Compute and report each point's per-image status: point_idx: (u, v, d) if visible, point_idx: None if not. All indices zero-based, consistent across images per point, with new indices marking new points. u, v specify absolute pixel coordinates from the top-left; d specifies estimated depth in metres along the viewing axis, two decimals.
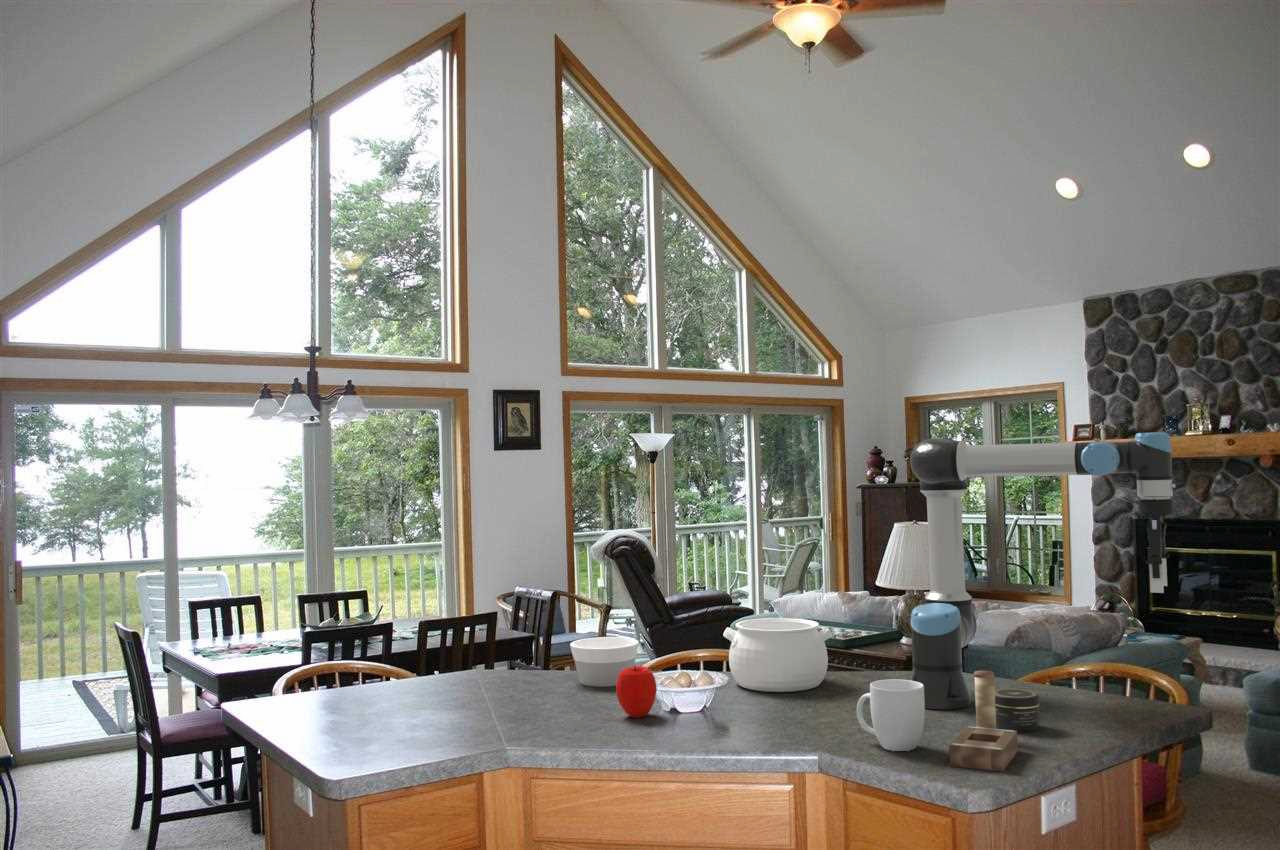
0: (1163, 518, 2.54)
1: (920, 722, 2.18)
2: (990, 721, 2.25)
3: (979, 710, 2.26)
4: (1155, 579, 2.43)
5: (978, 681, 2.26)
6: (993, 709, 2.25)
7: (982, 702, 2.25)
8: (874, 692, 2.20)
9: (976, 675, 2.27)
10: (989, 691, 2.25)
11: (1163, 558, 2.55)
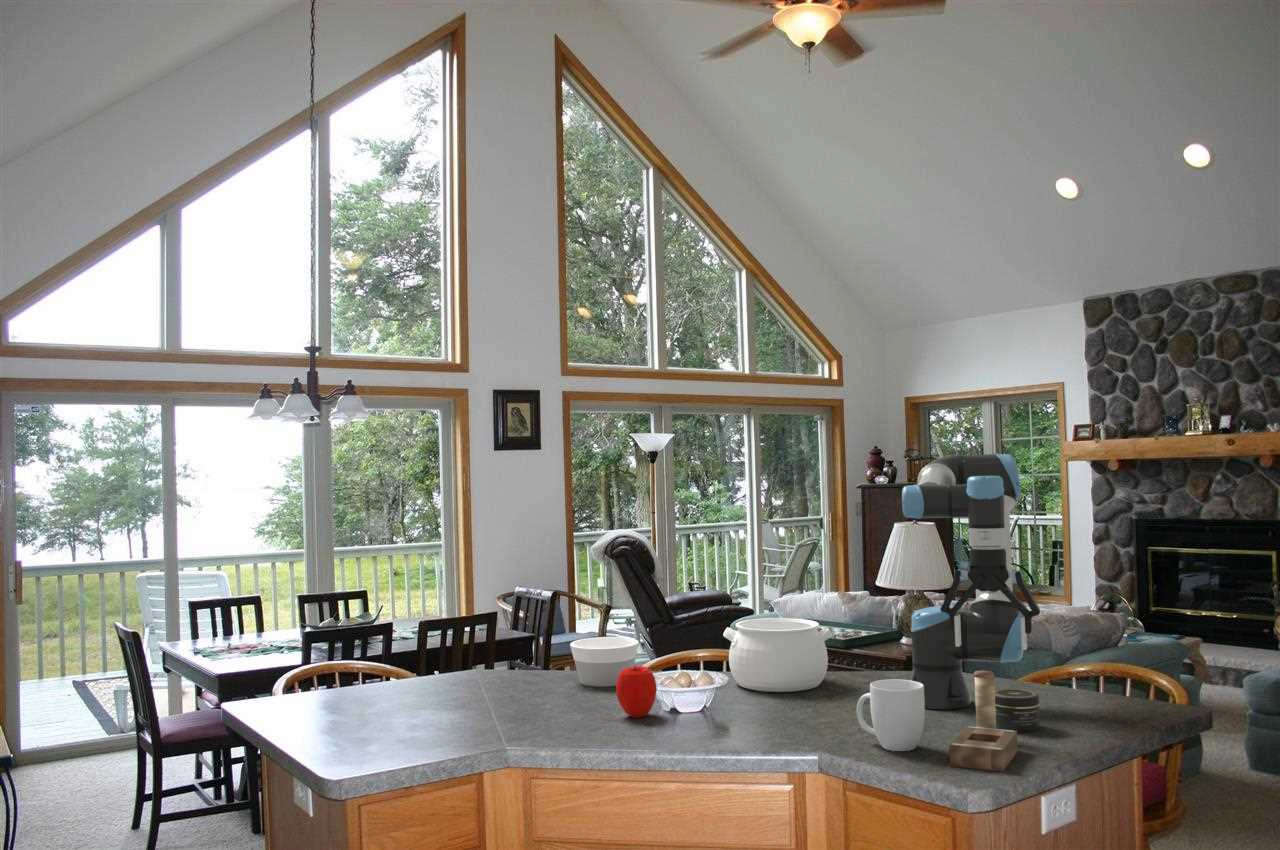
0: (1015, 572, 2.25)
1: (920, 722, 2.18)
2: (990, 721, 2.25)
3: (979, 710, 2.26)
4: None
5: (978, 681, 2.26)
6: (993, 709, 2.25)
7: (982, 702, 2.25)
8: (874, 692, 2.20)
9: (976, 675, 2.27)
10: (989, 691, 2.25)
11: (1023, 618, 2.25)
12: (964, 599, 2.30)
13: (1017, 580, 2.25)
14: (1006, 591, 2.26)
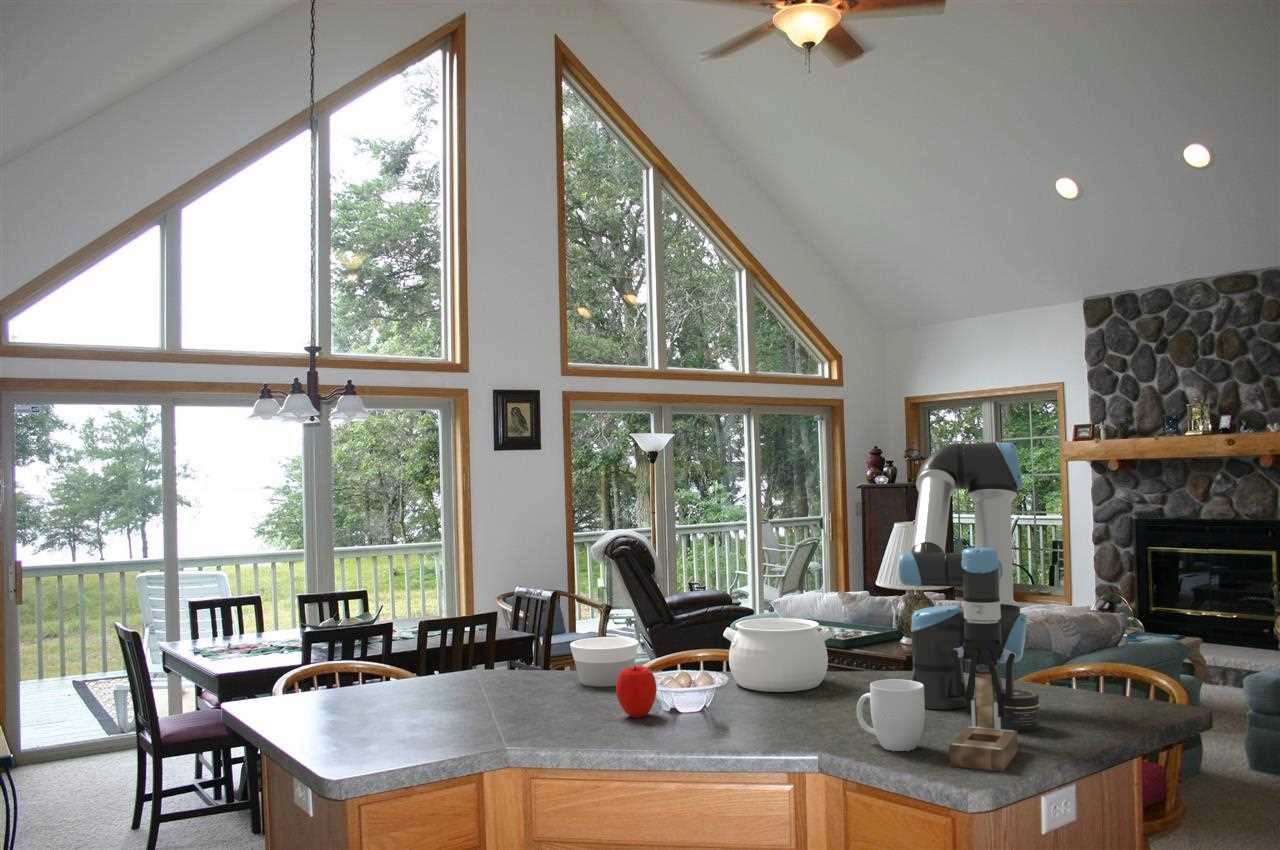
0: (1010, 653, 2.24)
1: (920, 722, 2.18)
2: (991, 721, 2.25)
3: (979, 710, 2.26)
4: None
5: (979, 681, 2.26)
6: (993, 709, 2.25)
7: (982, 702, 2.25)
8: (874, 692, 2.20)
9: (976, 675, 2.27)
10: (989, 691, 2.25)
11: (996, 702, 2.25)
12: (972, 678, 2.27)
13: (1008, 661, 2.24)
14: (993, 669, 2.25)
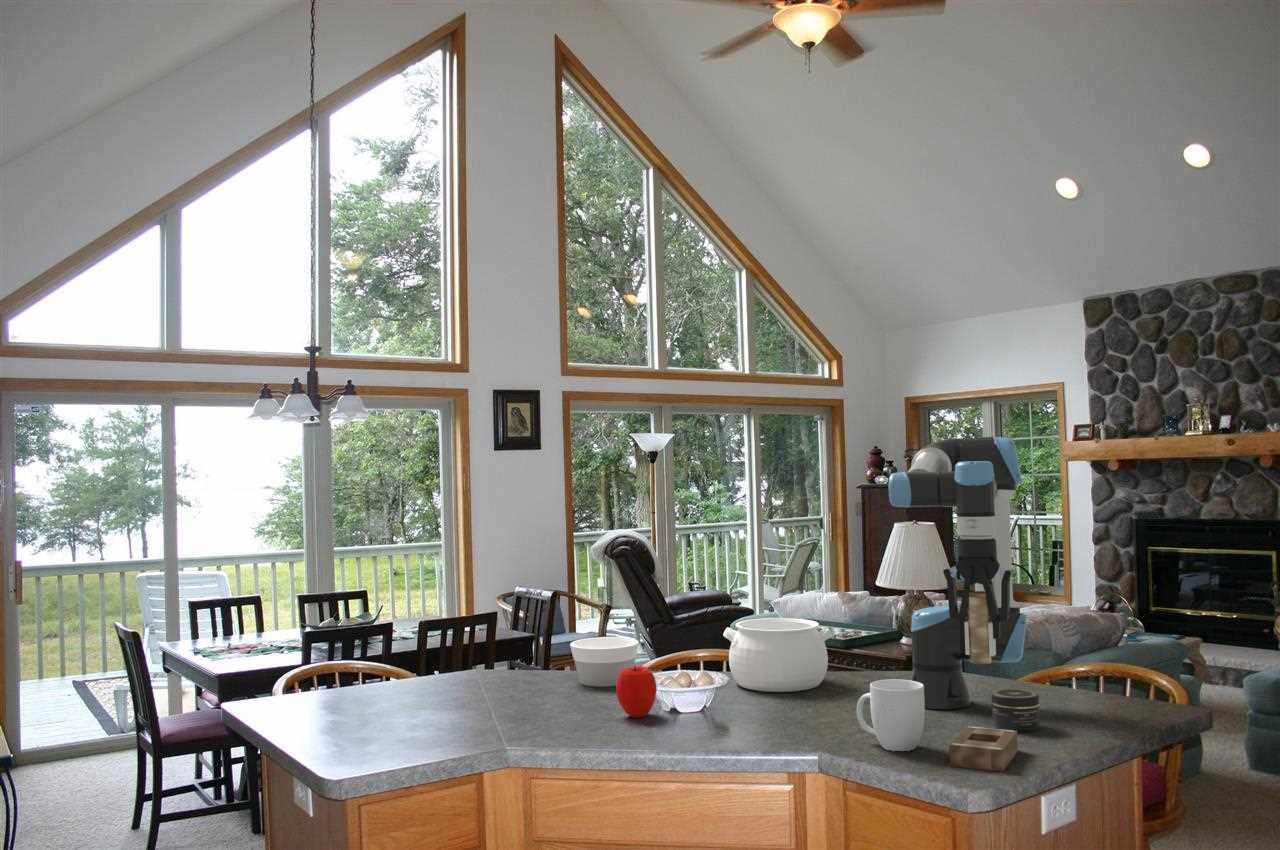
0: (1006, 571, 2.11)
1: (920, 722, 2.18)
2: (985, 643, 2.12)
3: (972, 631, 2.13)
4: None
5: (972, 600, 2.13)
6: (988, 630, 2.13)
7: (976, 623, 2.13)
8: (874, 692, 2.20)
9: (970, 594, 2.14)
10: (984, 611, 2.12)
11: (991, 622, 2.12)
12: (966, 599, 2.15)
13: (1003, 578, 2.11)
14: (988, 588, 2.12)
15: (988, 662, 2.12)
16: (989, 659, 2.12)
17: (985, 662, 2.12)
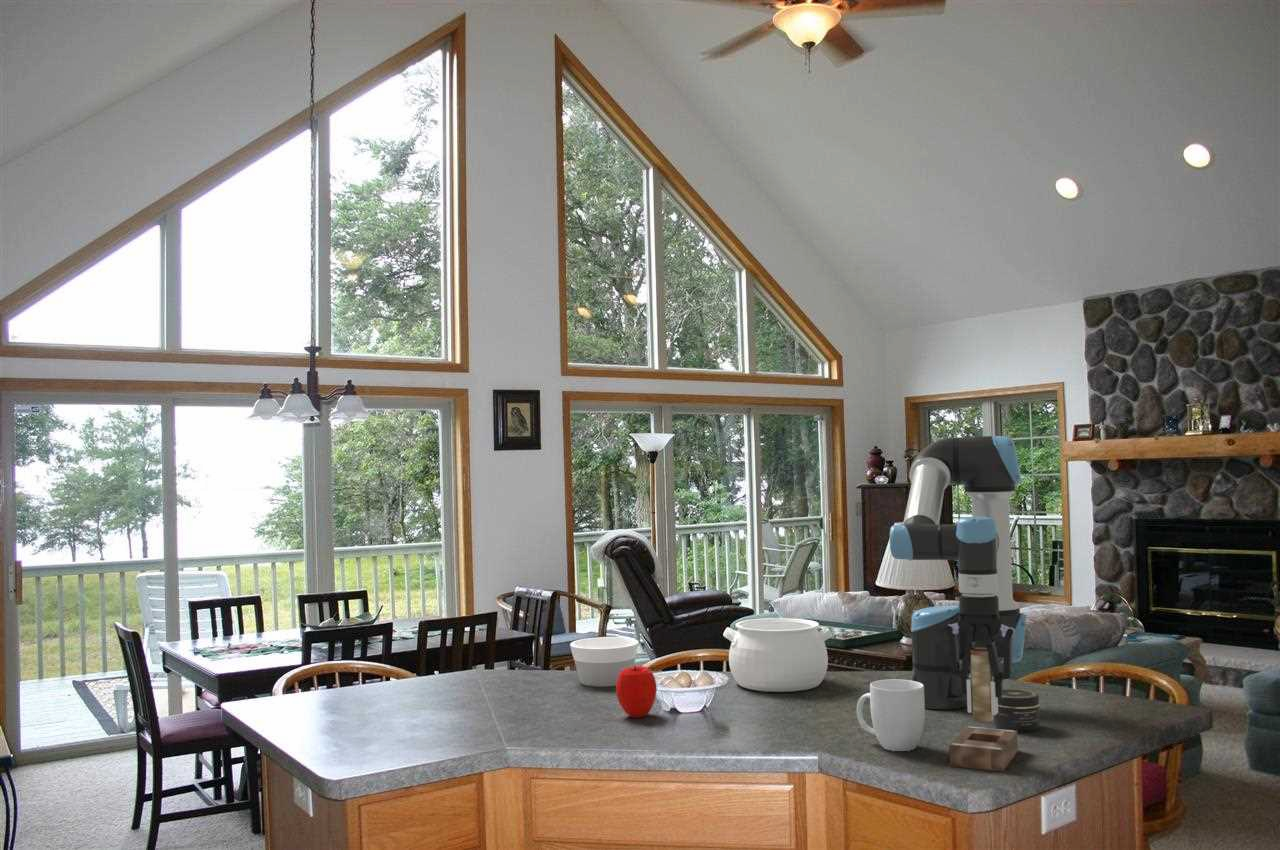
0: (1008, 629, 2.10)
1: (920, 722, 2.18)
2: (987, 701, 2.11)
3: (975, 689, 2.12)
4: None
5: (974, 658, 2.12)
6: (990, 688, 2.11)
7: (978, 681, 2.11)
8: (874, 692, 2.20)
9: (972, 652, 2.12)
10: (986, 669, 2.11)
11: (993, 681, 2.11)
12: (968, 656, 2.13)
13: (1006, 637, 2.10)
14: (990, 646, 2.11)
15: (990, 720, 2.11)
16: (991, 717, 2.11)
17: (987, 721, 2.11)
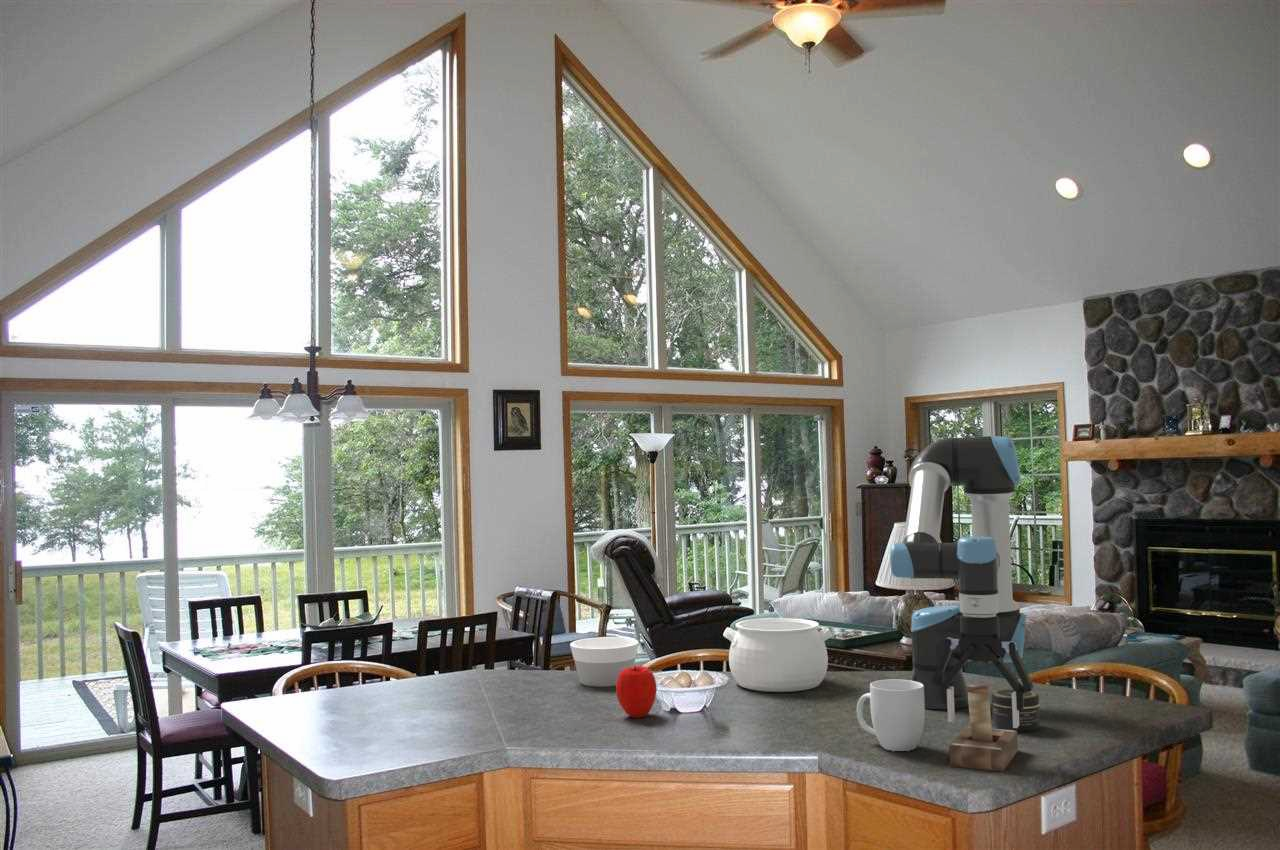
0: (1009, 643, 2.09)
1: (920, 722, 2.18)
2: (987, 739, 2.11)
3: (974, 727, 2.12)
4: None
5: (972, 696, 2.12)
6: (989, 725, 2.11)
7: (976, 719, 2.11)
8: (874, 692, 2.20)
9: (969, 690, 2.13)
10: (984, 706, 2.11)
11: (1014, 694, 2.09)
12: (956, 670, 2.14)
13: (1010, 652, 2.09)
14: (998, 663, 2.10)
15: None
16: None
17: None
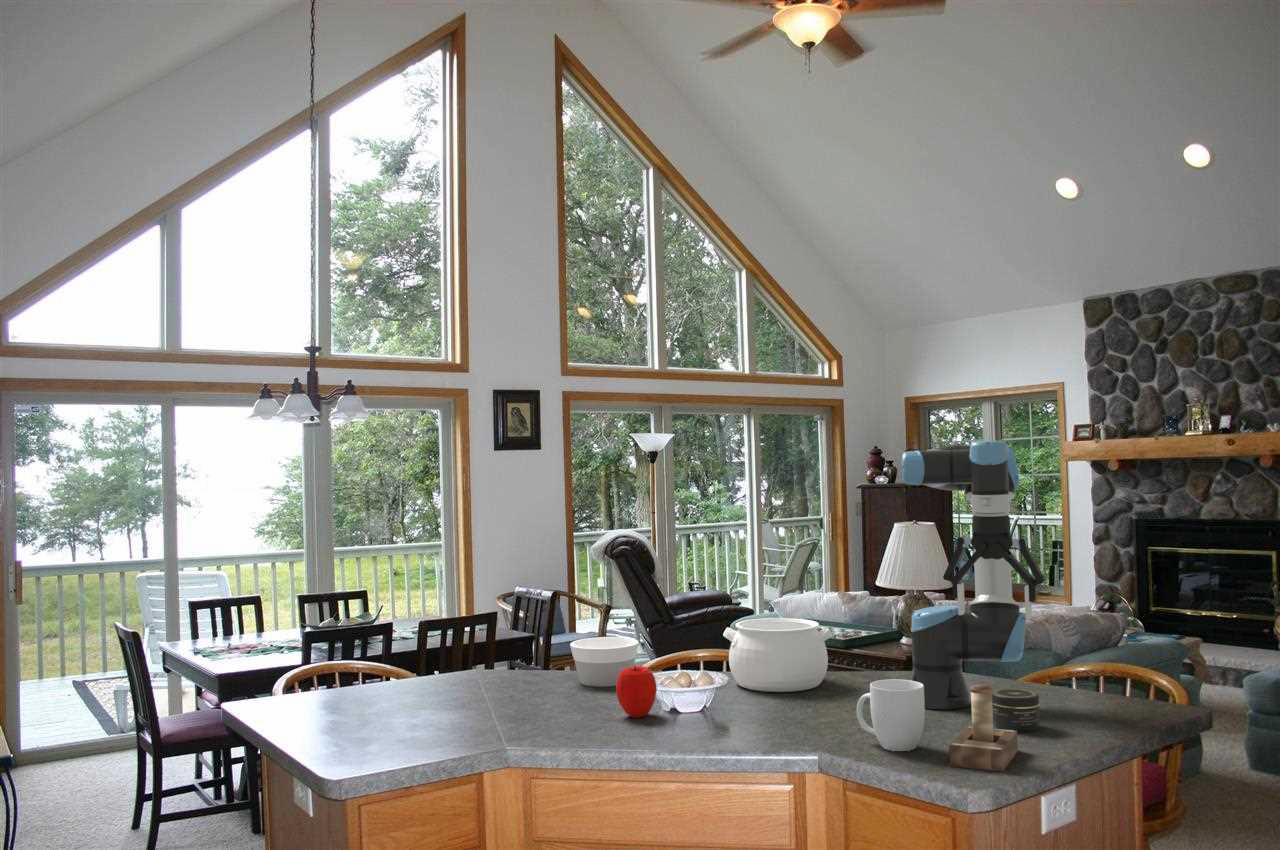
0: (1019, 539, 2.19)
1: (920, 722, 2.18)
2: (988, 739, 2.11)
3: (975, 727, 2.12)
4: None
5: (975, 696, 2.12)
6: (991, 726, 2.11)
7: (978, 719, 2.11)
8: (874, 692, 2.20)
9: (973, 690, 2.12)
10: (987, 707, 2.11)
11: (1027, 586, 2.19)
12: (967, 567, 2.25)
13: (1021, 547, 2.19)
14: (1009, 559, 2.20)
15: None
16: None
17: None
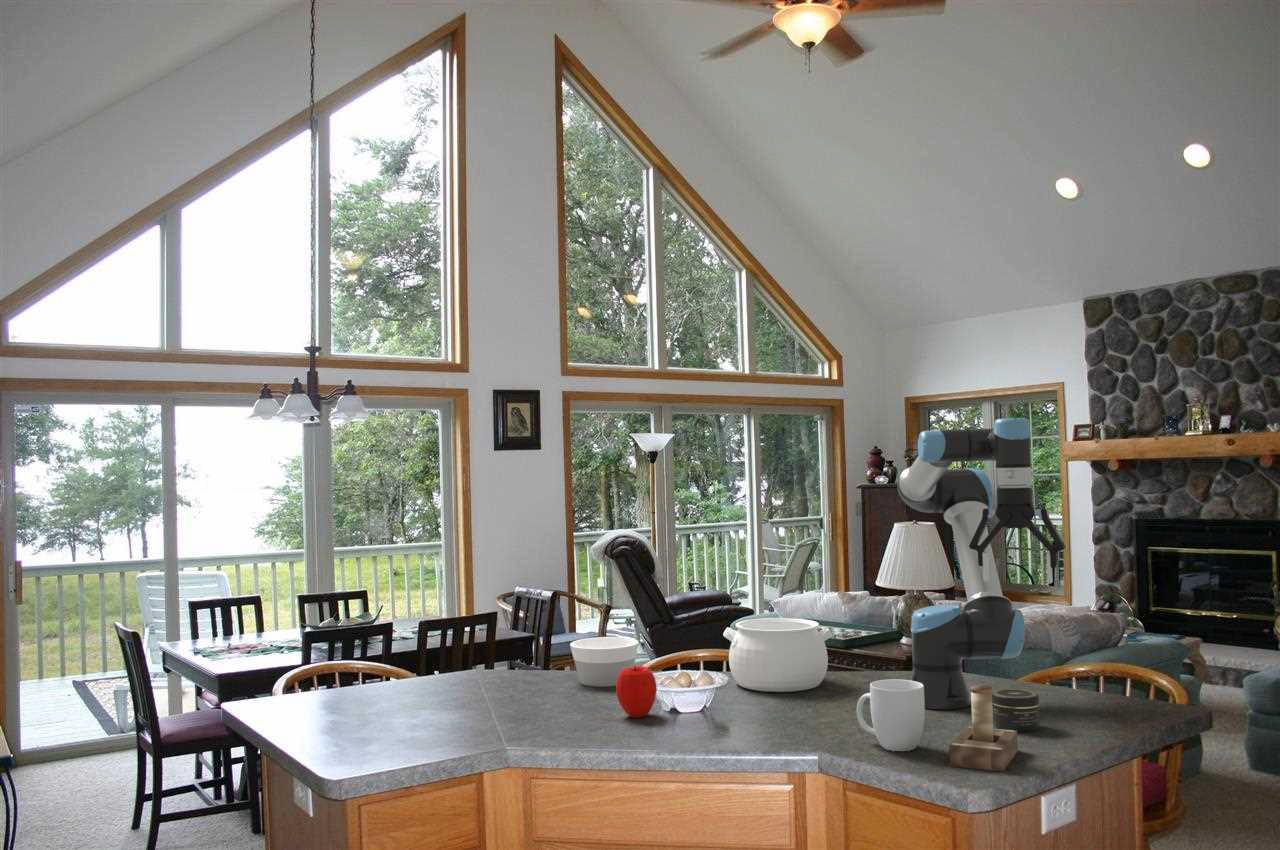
0: (1041, 509, 2.35)
1: (920, 722, 2.18)
2: (988, 740, 2.11)
3: (975, 727, 2.12)
4: None
5: (975, 696, 2.12)
6: (991, 727, 2.11)
7: (979, 719, 2.11)
8: (874, 692, 2.20)
9: (973, 690, 2.12)
10: (987, 707, 2.11)
11: (1048, 553, 2.35)
12: (992, 536, 2.40)
13: (1043, 517, 2.35)
14: (1032, 527, 2.36)
15: None
16: None
17: None
